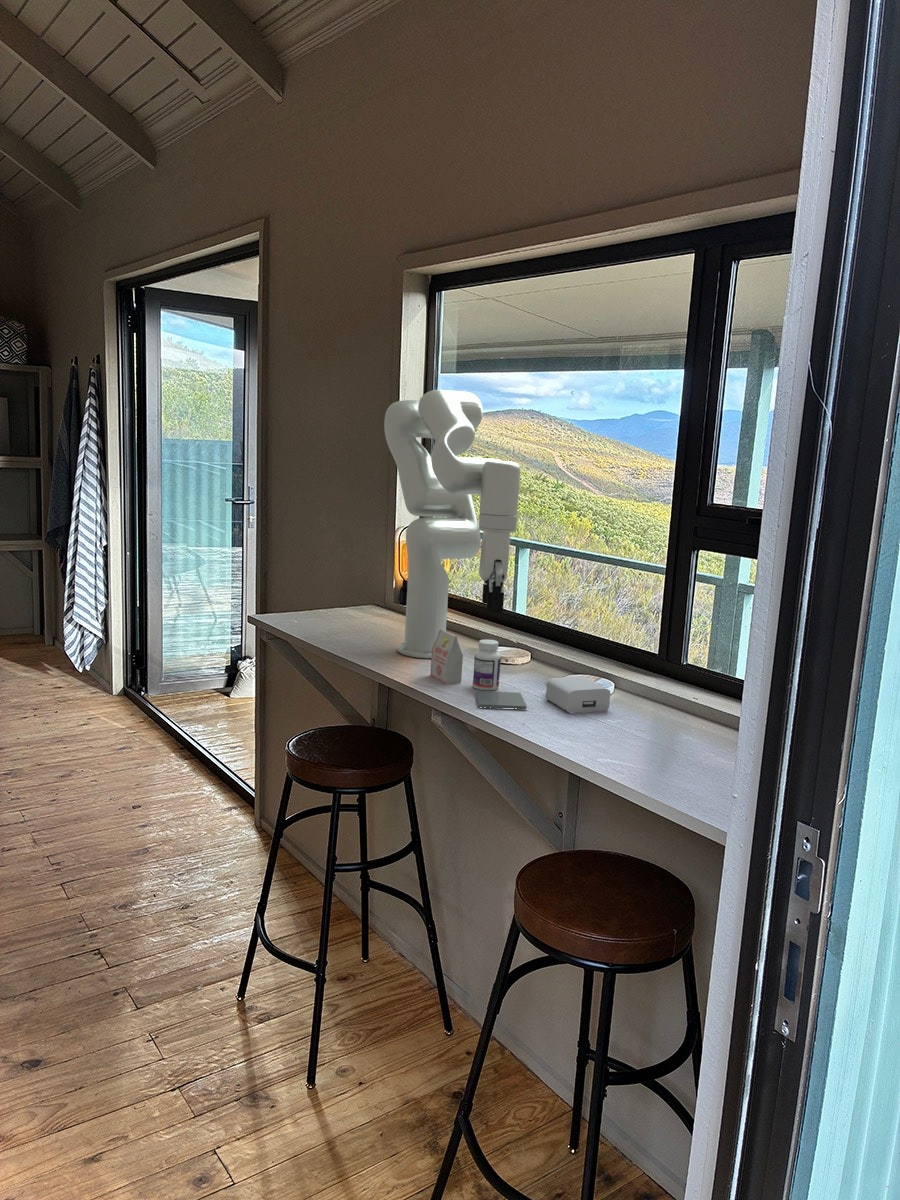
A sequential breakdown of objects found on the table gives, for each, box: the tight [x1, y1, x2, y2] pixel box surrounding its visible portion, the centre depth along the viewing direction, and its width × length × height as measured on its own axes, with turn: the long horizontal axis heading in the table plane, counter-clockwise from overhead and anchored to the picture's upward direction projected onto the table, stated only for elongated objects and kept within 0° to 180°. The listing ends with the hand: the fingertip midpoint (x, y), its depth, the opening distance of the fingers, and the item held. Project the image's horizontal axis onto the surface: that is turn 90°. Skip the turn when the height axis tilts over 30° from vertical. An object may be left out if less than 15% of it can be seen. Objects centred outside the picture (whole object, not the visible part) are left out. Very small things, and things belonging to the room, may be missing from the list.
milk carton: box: [430, 629, 464, 685], centre depth 191 cm, size 4×7×10 cm, turn 29°
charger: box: [543, 676, 611, 713], centre depth 182 cm, size 5×9×15 cm
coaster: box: [475, 690, 528, 710], centre depth 178 cm, size 9×9×1 cm
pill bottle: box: [472, 639, 502, 691], centre depth 187 cm, size 5×5×10 cm
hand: (492, 607), depth 184 cm, fingers open, 9 cm apart
